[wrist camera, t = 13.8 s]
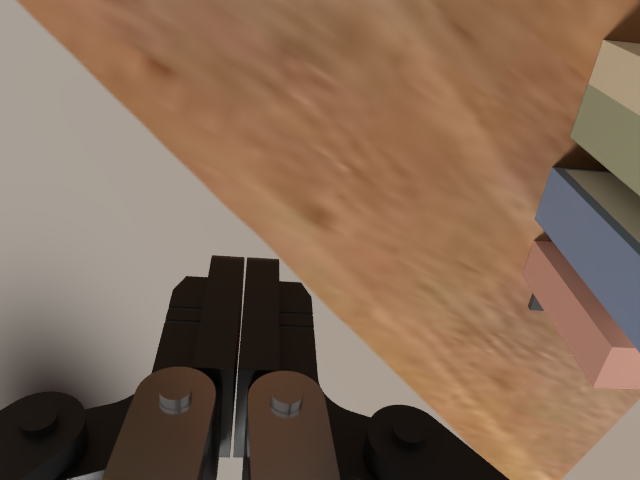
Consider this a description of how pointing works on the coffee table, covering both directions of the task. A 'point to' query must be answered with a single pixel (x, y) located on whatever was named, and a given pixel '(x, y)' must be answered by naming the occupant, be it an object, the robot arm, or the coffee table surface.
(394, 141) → the coffee table surface
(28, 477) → the robot arm
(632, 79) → the book rack
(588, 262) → the blue book
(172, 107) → the coffee table surface
